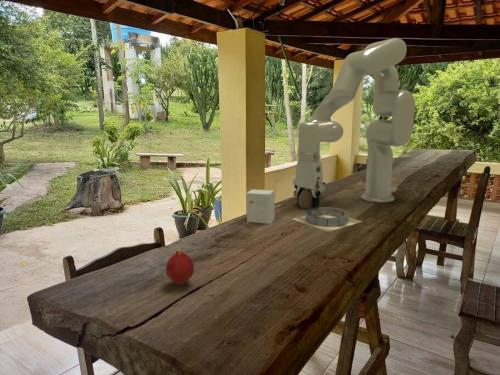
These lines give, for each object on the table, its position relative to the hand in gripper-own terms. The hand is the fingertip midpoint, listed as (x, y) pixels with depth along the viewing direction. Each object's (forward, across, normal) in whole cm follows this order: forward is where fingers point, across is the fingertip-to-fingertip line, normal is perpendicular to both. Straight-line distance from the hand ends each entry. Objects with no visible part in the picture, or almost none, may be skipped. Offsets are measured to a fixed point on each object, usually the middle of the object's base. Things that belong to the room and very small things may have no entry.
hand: (307, 204), depth 131 cm
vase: (+2, 0, 0) cm, 2 cm away
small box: (+2, -2, +23) cm, 23 cm away
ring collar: (+1, -15, +6) cm, 16 cm away
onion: (+2, -26, +62) cm, 67 cm away
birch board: (+2, -15, +6) cm, 16 cm away
